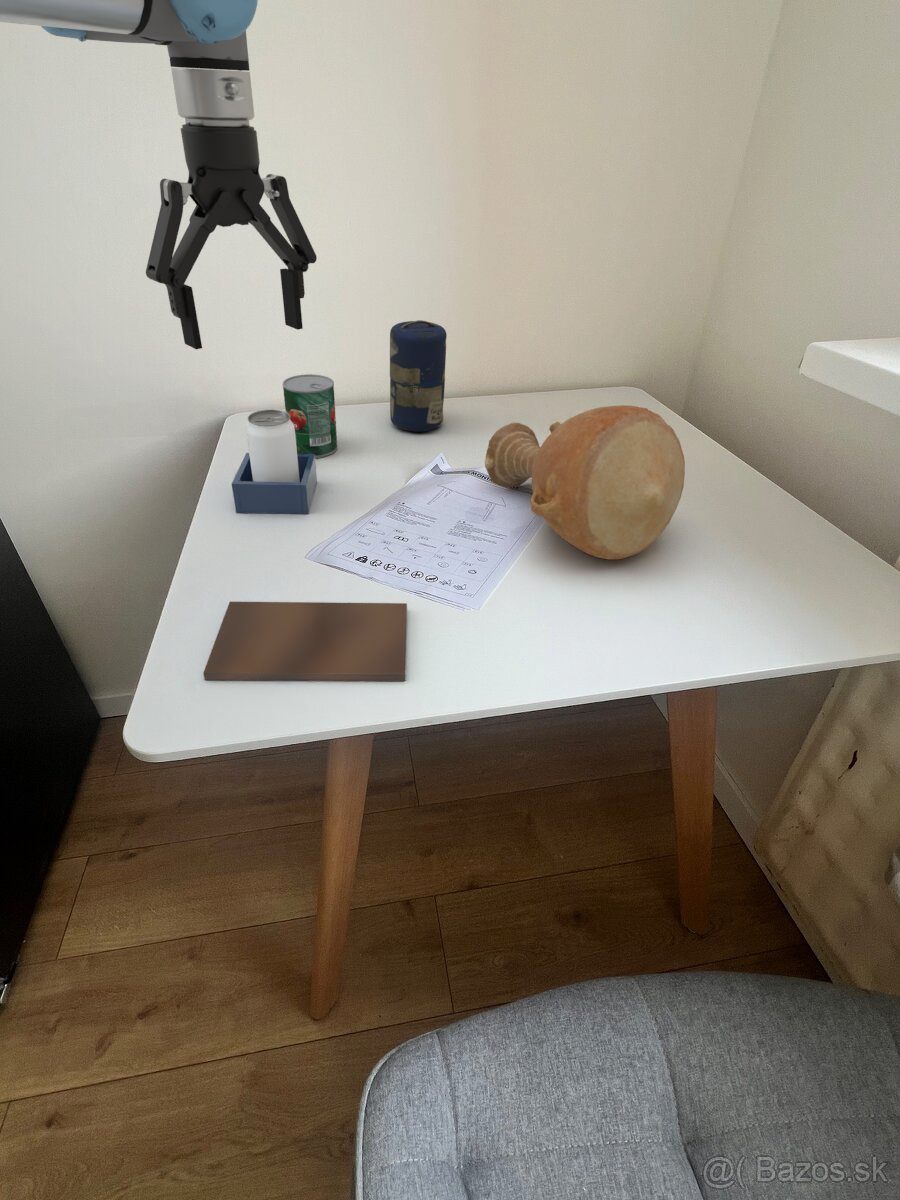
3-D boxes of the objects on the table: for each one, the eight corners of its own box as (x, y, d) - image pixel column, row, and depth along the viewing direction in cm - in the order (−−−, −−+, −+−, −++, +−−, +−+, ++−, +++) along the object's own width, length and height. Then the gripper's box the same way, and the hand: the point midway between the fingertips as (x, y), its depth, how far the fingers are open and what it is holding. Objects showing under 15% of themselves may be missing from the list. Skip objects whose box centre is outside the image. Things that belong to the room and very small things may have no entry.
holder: (236, 513, 97) (231, 483, 94) (250, 480, 105) (246, 452, 102) (308, 514, 97) (306, 485, 95) (317, 481, 105) (314, 454, 103)
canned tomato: (278, 449, 114) (271, 383, 107) (312, 434, 119) (306, 370, 113) (315, 463, 111) (309, 395, 104) (347, 446, 116) (344, 381, 109)
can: (298, 507, 99) (290, 426, 92) (252, 507, 98) (240, 426, 91) (303, 486, 104) (296, 408, 97) (259, 486, 103) (248, 407, 96)
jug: (579, 519, 75) (427, 449, 96) (637, 607, 88) (493, 528, 109) (693, 382, 76) (519, 343, 98) (734, 489, 89) (572, 434, 111)
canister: (389, 414, 128) (388, 312, 117) (440, 414, 129) (444, 312, 118) (391, 435, 120) (390, 327, 110) (446, 435, 121) (450, 328, 111)
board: (204, 680, 70) (203, 672, 69) (230, 608, 79) (229, 601, 79) (405, 681, 71) (405, 674, 70) (406, 610, 80) (406, 603, 80)
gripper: (111, 124, 62) (161, 363, 75) (338, 125, 76) (348, 326, 89) (78, 119, 66) (130, 346, 79) (299, 121, 81) (314, 313, 93)
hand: (246, 336), depth 84 cm, fingers open, 13 cm apart
